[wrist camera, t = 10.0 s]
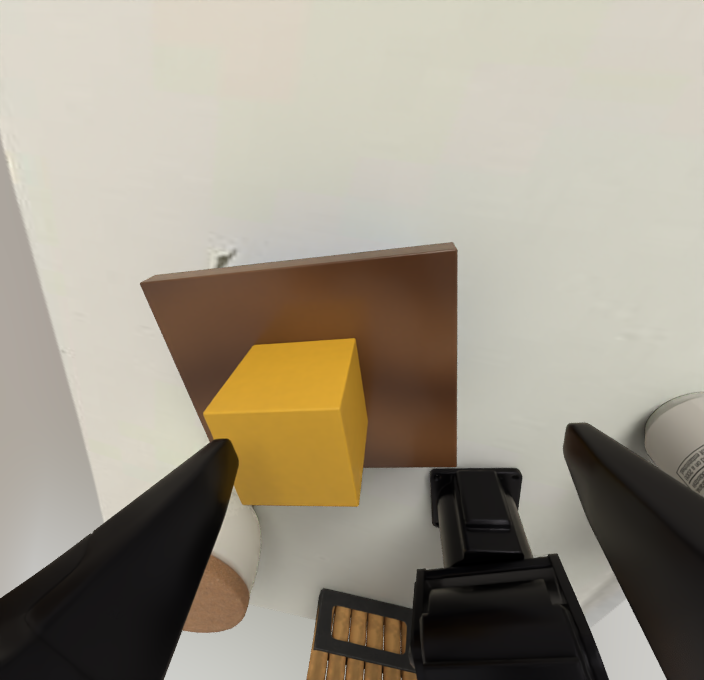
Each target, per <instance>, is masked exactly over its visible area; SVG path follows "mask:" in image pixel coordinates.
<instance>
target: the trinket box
mask: <svg viewBox="0 0 704 680" xmlns="http://www.w3.org/2000/svg"><path fill="white" fill-rule="evenodd" d="M260 552H261V530H260V525H259V521H258V518H257V516H256V513H255V512H254V510H253V505H242V503H241V501H240V499H239V496H238V494H237V492H236V489H235V487H234V486H233V489H232V493H231V497H230V501H229V504H228V508H227V511H226V515H225V518H224V521H223V524H222V526H221V529H220V532H219V534H218V537H217V540H216V542H215V545H214V548H213V550H212V553H211V556H210V558H209V561H208V564H207V566H206V569H205V572H204V574H203V577H202V579H201V582H200V585H199V587H198V590H197V593H196V595H195V598H194V601H193V603H192V606H191V609H190V611H189V614H188V617H187V619H186V622H185V624H184V627H183V631H190V632H202V633H209V632H220V631H224V630H228V629H231V628H233V627H234V626H236V625H237V624H238V623H239V622H240V621H242V619H243V617H244V616H245V613H246V610H247V607H248V604H249V598H250V593H251V590H252V587H253V584H254V580H255V577H256V573H257V568H258V564H259V559H260Z"/></svg>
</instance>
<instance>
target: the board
mask: <svg viewBox="0 0 704 680" xmlns="http://www.w3.org/2000/svg"><path fill="white" fill-rule="evenodd" d="M140 285H141V287H142V290H143V292H144V294H145V297H146V299H147V301H148V303H149V306H150V308H151V310H152V312H153V315H154V317H155V319H156V321H157V324H158V326H159V328H160V330H161V333H162V335H163V337H164V339H165V342H166V344H167V346H168V348H169V351H170V353H171V355H172V358H173V360H174V362H175V364H176V367H177V369H178V371H179V373H180V376H181V378H182V380H183V382H184V385H185V387H186V389H187V391H188V394H189V396H190V398H191V400H192V403H193V405H194V407H195V409H196V412H197V414H198V416H199V419H200V421H201V423H202V425H203V428H204V430H205V432H206V434H207V437H208V439H209V441H210V442H211V441H213V440H214V439H213V436H212V434H211V432H210V429H209V427H208V425H207V423H206V420H205V418H204V416H203V412H204V411H205V409H206V408H207V407H208V405H209V404H210V403H211V401H212V400H213V399H214V397H215V396H216V395H217V393H218V392H219V391H220V389H221V388H222V387H223V385H224V384H225V383H226V381H227V380H228V379H229V377H230V376H231V374H232V373H233V372H234V370H235V369H236V368H237V366H238V365H239V364H240V362H241V361H242V360H243V358H244V357H245V356H246V354H247V353H248V352H249V350H250V349H251V348H252V346H253V345H261V344H276V343H290V342H305V341H319V340H334V339H349V338H355V340H356V345H357V351H358V358H359V365H360V371H361V378H362V385H363V391H364V398H365V405H366V411H367V418H368V426H367V435H366V445H365V454H364V463H363V468H399V467H456V466H457V248H456V247H455V245H454V243H452V242H450V243H441V244H432V245H423V246H414V247H405V248H396V249H387V250H378V251H369V252H360V253H351V254H342V255H333V256H324V257H315V258H306V259H297V260H287V261H278V262H269V263H260V264H251V265H242V266H233V267H224V268H215V269H206V270H197V271H188V272H179V273H170V274H161V275H155V276H153V277H151V278H149V279H147V280H145V281H143V282H141V283H140Z"/></svg>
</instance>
